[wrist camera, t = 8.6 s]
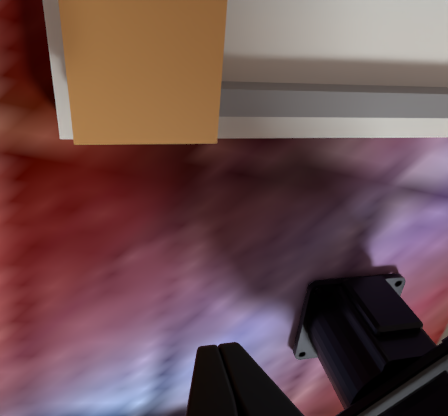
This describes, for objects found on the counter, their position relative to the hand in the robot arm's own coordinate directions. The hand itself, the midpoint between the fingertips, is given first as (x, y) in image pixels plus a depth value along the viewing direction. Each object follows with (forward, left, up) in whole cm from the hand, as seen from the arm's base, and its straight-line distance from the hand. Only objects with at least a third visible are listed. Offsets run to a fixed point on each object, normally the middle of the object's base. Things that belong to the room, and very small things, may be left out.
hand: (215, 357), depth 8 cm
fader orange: (+5, +1, -10) cm, 11 cm away
